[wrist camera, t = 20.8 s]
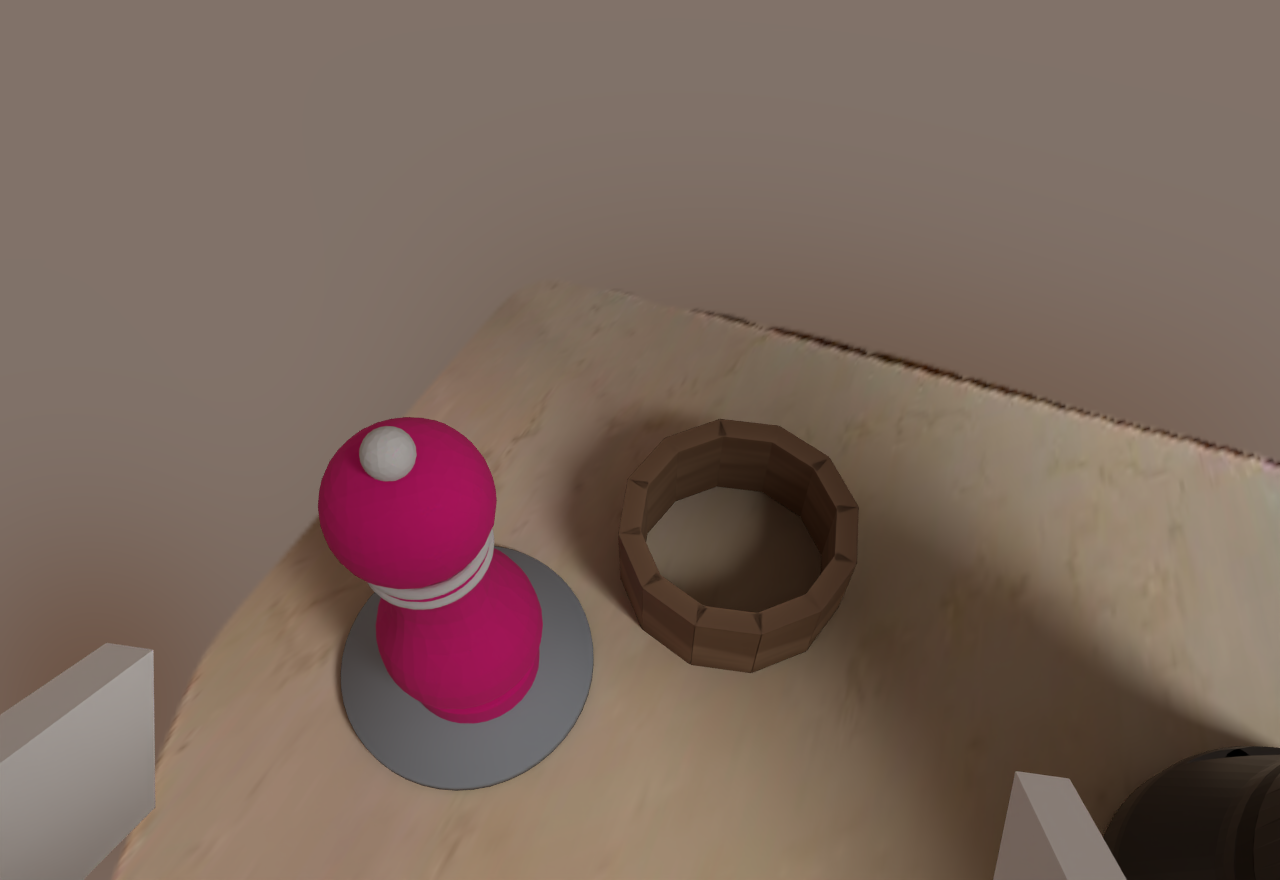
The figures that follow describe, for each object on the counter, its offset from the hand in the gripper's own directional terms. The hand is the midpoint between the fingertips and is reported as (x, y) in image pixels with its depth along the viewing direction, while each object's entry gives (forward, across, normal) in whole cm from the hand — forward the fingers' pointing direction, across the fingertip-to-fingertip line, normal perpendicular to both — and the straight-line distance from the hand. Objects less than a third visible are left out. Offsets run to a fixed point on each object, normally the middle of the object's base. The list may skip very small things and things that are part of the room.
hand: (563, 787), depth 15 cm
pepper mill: (+31, -9, -14) cm, 35 cm away
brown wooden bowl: (+36, +3, -9) cm, 37 cm away
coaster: (+31, -9, -14) cm, 35 cm away
